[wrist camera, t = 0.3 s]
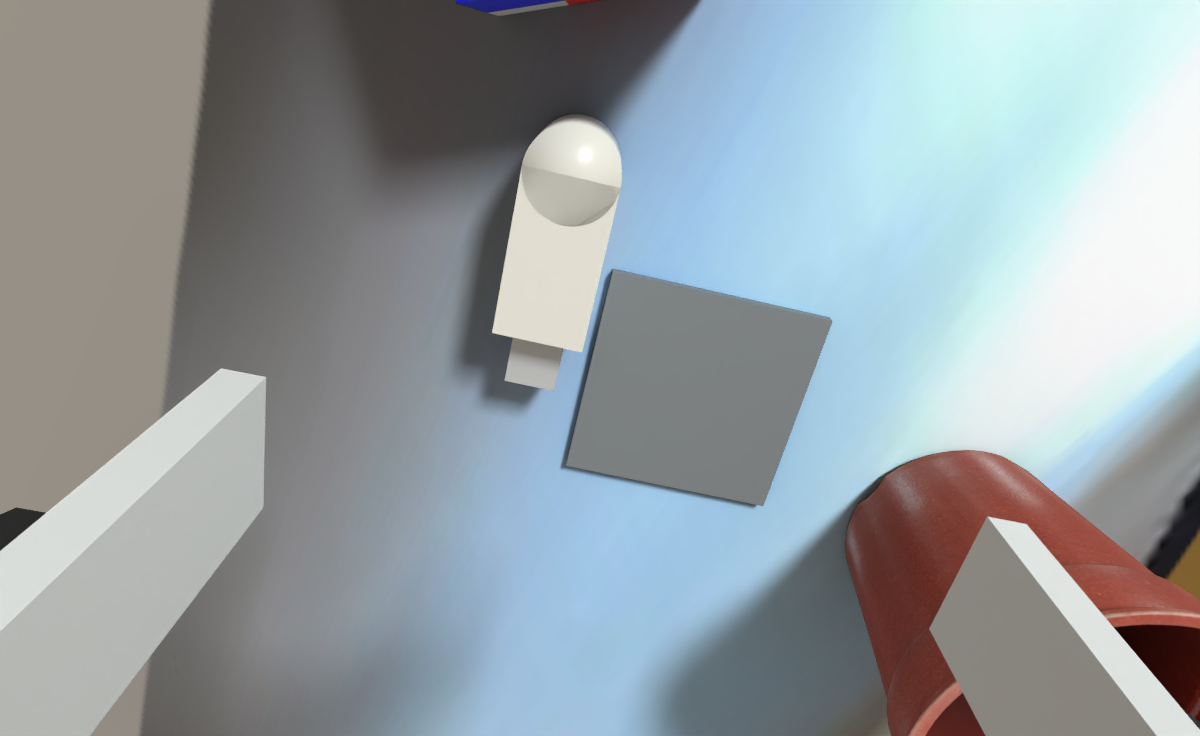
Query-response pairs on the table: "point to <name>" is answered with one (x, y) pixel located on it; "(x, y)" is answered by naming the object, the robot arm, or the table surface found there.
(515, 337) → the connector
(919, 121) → the table surface
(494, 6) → the puzzle toy
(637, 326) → the coaster
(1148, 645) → the flower pot
